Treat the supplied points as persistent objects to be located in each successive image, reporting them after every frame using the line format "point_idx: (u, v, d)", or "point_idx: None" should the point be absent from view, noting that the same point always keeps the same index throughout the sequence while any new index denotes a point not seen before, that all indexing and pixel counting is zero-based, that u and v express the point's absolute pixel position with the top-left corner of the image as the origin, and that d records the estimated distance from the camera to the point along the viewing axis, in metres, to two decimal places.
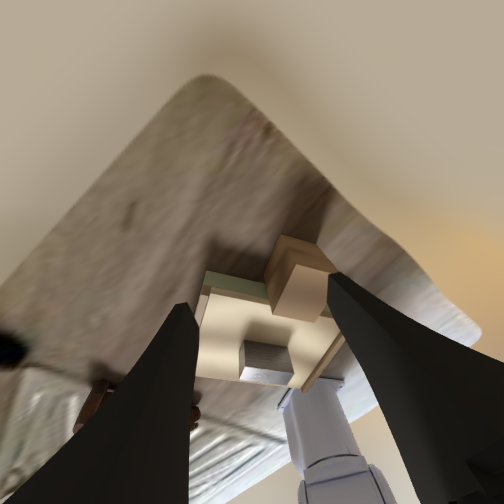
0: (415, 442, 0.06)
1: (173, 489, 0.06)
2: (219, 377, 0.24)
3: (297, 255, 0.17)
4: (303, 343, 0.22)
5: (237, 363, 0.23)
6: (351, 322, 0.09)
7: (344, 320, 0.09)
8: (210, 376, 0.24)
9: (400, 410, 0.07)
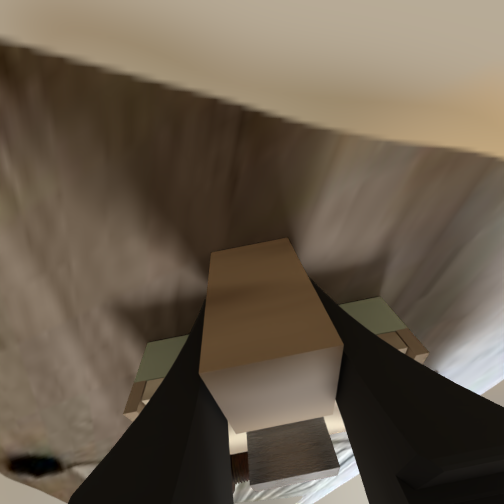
0: (364, 452, 0.06)
1: (222, 479, 0.06)
2: None
3: (220, 318, 0.07)
4: None
5: None
6: None
7: None
8: (236, 452, 0.17)
9: (353, 419, 0.07)
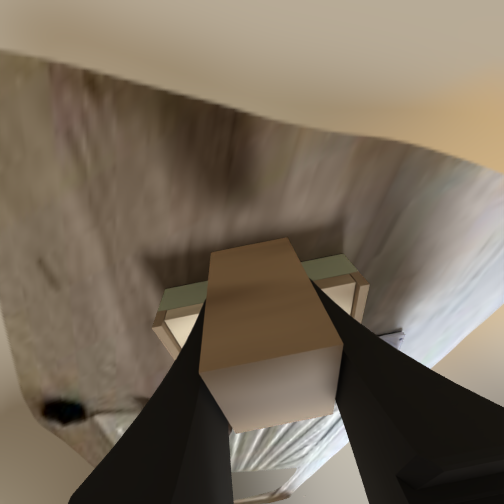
0: (364, 452, 0.06)
1: (222, 479, 0.06)
2: None
3: (220, 317, 0.07)
4: None
5: None
6: None
7: None
8: None
9: (353, 420, 0.07)
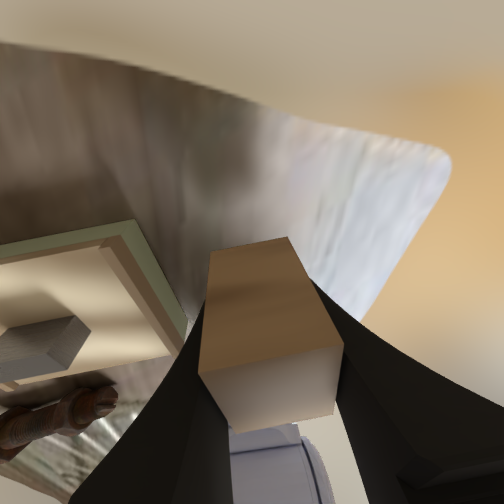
0: (364, 453, 0.06)
1: (222, 479, 0.06)
2: (58, 375, 0.19)
3: (219, 317, 0.07)
4: (89, 302, 0.15)
5: None
6: None
7: None
8: (47, 378, 0.19)
9: (353, 420, 0.07)
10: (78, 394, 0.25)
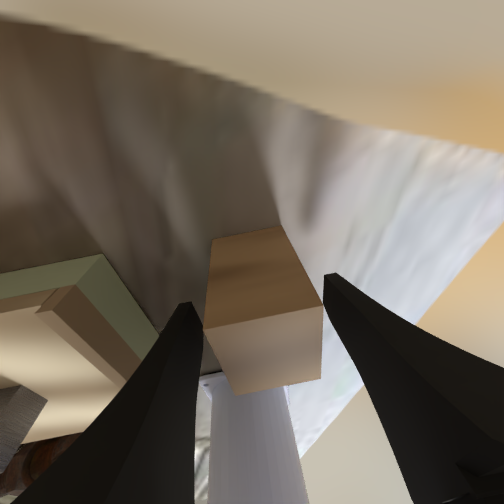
0: (408, 444, 0.06)
1: (180, 488, 0.06)
2: None
3: (220, 290, 0.08)
4: (38, 370, 0.11)
5: None
6: (346, 323, 0.09)
7: (340, 321, 0.09)
8: None
9: (394, 411, 0.07)
10: (38, 443, 0.21)
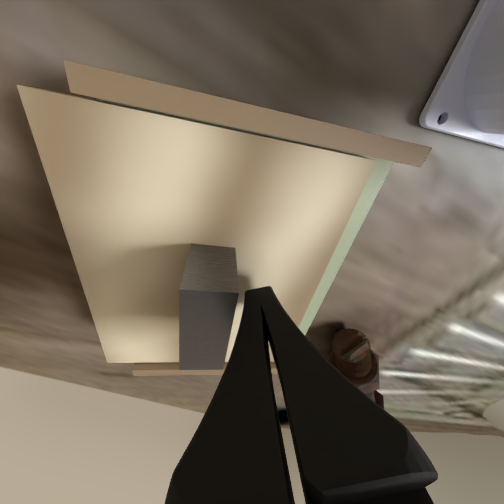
0: None
1: (286, 466, 0.06)
2: None
3: None
4: (169, 207, 0.08)
5: None
6: (269, 338, 0.09)
7: (268, 335, 0.09)
8: None
9: (291, 432, 0.07)
10: (332, 356, 0.21)
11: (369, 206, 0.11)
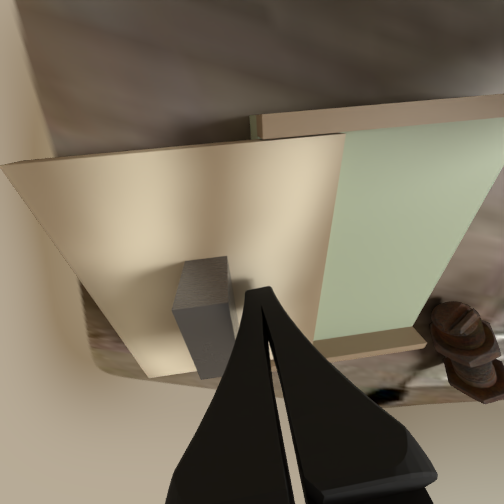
0: (298, 466, 0.06)
1: (287, 466, 0.06)
2: (312, 321, 0.13)
3: None
4: (154, 233, 0.09)
5: None
6: (269, 338, 0.09)
7: (267, 335, 0.09)
8: (312, 331, 0.14)
9: (291, 432, 0.07)
10: (434, 332, 0.21)
11: (500, 165, 0.10)
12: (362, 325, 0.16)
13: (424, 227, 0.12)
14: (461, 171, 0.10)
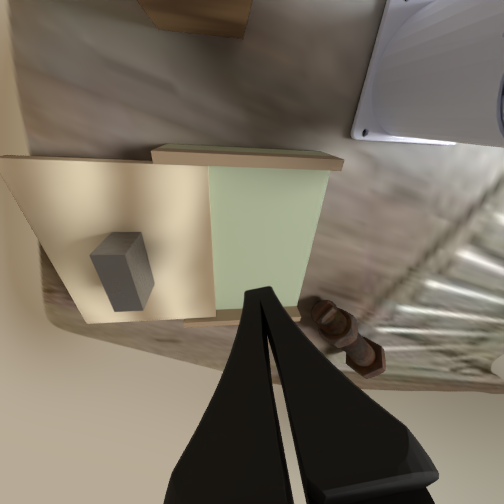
0: (299, 466, 0.06)
1: (286, 466, 0.06)
2: (211, 289, 0.19)
3: None
4: (90, 210, 0.14)
5: (176, 278, 0.18)
6: (270, 338, 0.09)
7: (268, 335, 0.09)
8: (212, 297, 0.19)
9: (292, 432, 0.07)
10: None
11: (323, 196, 0.16)
12: None
13: (284, 230, 0.18)
14: (297, 196, 0.16)
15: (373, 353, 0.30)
